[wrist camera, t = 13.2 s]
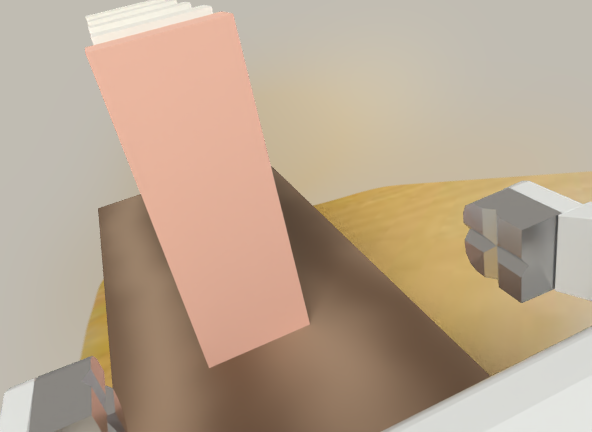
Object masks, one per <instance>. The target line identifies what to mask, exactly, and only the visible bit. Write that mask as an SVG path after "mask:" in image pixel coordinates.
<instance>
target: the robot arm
mask: <svg viewBox="0 0 592 432" xmlns="http://www.w3.org/2000/svg"><path fill="white" fill-rule="evenodd" d="M463 219H464V224H465V225H466V226H468V227H469V228H470V230H469V232H468V234H467V236H466V238H465V248H466V254H467V256H468V258H469V260H470V263H471V264H472V266H473V267H474V268H475V269H476V270H477V271H478V272H479V273H480V274H482V275H483V276H484V277H488V278H493V279H498V284H499V288H501V289H502V290H504V291H505V292H506V293H508V294H509V295H511V296H512V297H514V298H515V299H516V300H518V301H519V302H521V303H523V302H525V301H528V300H530V299H532V298H535V297H537V296H539V295H541V294H544V293H546V292H548V291H551V290H553V289H555V291H558V292H562V293H565V294H569V295H572V296H576V297H579V298H583V299H586V300H590V301H592V202H588V203H586V204H581V203H579V202H577V201H575V200H572V199H570V198H568V197H565V196H563V195H561V194H558V193H556V192H554V191H551V190H549V189H547V188H544V187H542V186H540V185H537V184H535V183H533V182H531V181H520V182H518V183H516V184H514V185H511V186H509V187H507V188H505V189H503V190H501V191H499V192H497V193H494V194H492V195H490V196H487V197H485V198H482V199H480V200H478V201H475V202H473V203H470V204H468V205H466V206H465V209H464V212H463ZM0 432H127V424H126V421H125V417H124V413H123V409H122V407H121V404H120V402H119V399H118V397H117V395H116V393H115V391H114V389H113V388H111V387H108V386H105V378H104V371H103V369H102V367H101V365H100V364H99V362H98V360H97V359H96V358H95V357H94V356H91V357H88V358H85V359H83V360H80V361H78V362H75V363H72V364H70V365H67V366H65V367H62V368H59V369H57V370H54V371H51V372H49V373H46V374H44V375H41V376H39V377H38V378H33V379H31V380H28V381H26V382H23V383H21V384H18V385H16V386H14V387H11V388H9V389H8V390H7V391H6V392H5V394H4V398H3V404H2V409H1V414H0ZM381 432H592V326H591V327H589V328H587V329H585V330H583V331H581V332H579V333H577V334H575V335H573V336H571V337H569V338H567V339H565V340H563V341H561V342H559V343H557V344H555V345H553V346H551V347H549V348H547V349H545V350H543V351H541V352H539V353H537V354H535V355H533V356H531V357H529V358H527V359H525V360H523V361H521V362H519V363H517V364H515V365H513V366H511V367H509V368H507V369H505V370H503V371H501V372H499V373H497V374H495V375H493V376H491V377H489V378H487V379H485V380H483V381H481V382H479V383H477V384H475V385H473V386H471V387H469V388H467V389H465V390H463V391H461V392H459V393H457V394H455V395H453V396H451V397H449V398H447V399H445V400H443V401H441V402H439V403H437V404H435V405H433V406H431V407H429V408H427V409H425V410H423V411H421V412H419V413H417V414H415V415H413V416H411V417H409V418H407V419H405V420H403V421H401V422H399V423H397V424H395V425H393V426H391V427H389V428H387V429H385V430H383V431H381Z"/></svg>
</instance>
